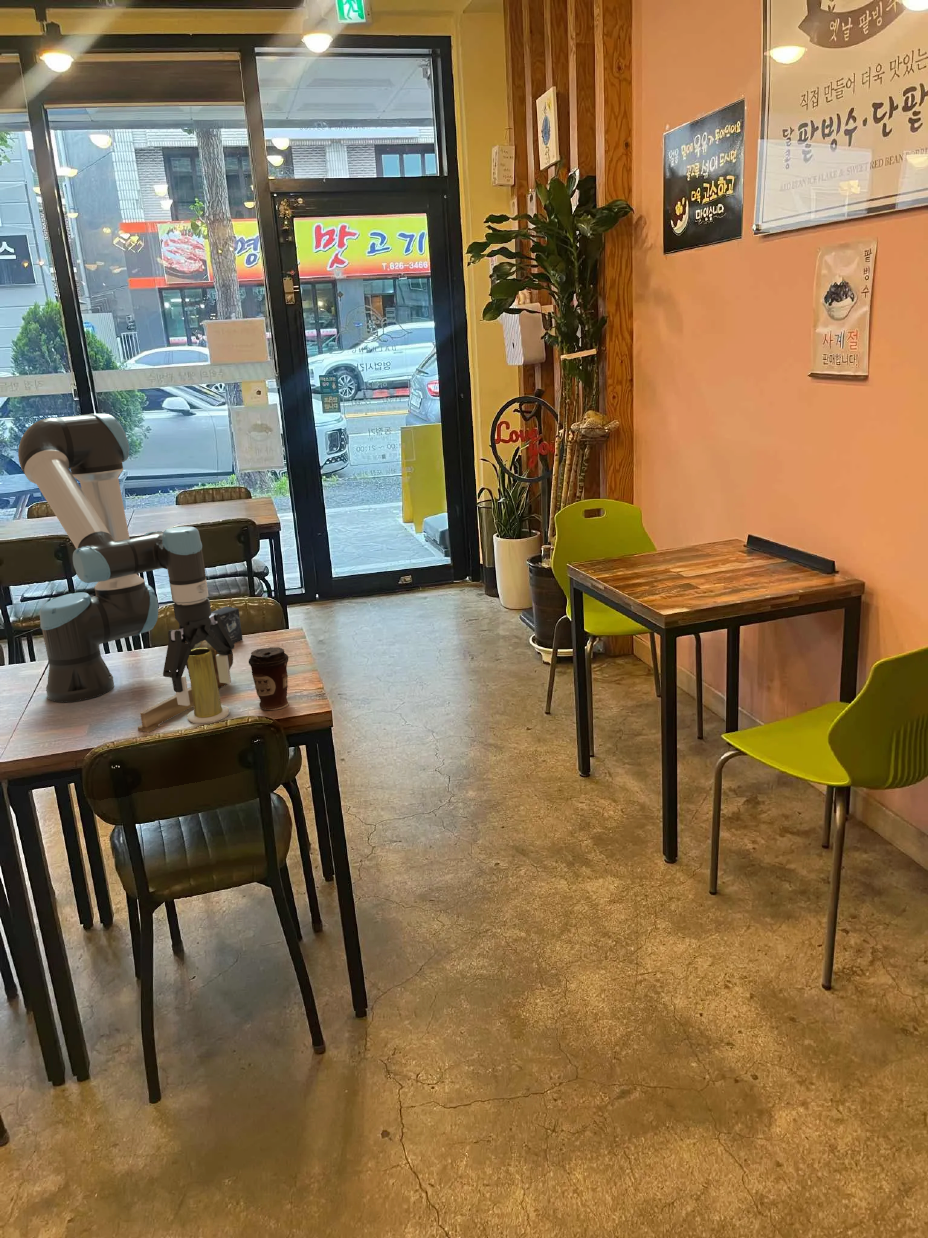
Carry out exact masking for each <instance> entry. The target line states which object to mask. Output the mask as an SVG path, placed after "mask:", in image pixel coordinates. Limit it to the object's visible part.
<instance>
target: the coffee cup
mask: <svg viewBox="0 0 928 1238" xmlns="http://www.w3.org/2000/svg"><path fill="white" fill-rule="evenodd" d="M289 659H290V658H289V655H288V654H287V653H285V649H284V648H282V647H278V646H277V647H272V646H271V647H266V648H257V649H255V650H253V651H251V653H250V657H249V658H248V664H249V666H250V668H251V676H252V679H253V683H254V687H255V690H256V691H255V692H256V695H257V696H258V698H259V704H258V705H259V708H260V709H262V710H266V711H267V710H268V711H276V710H281V709H284V708H287V707H288V705H289V700H288V698H287V697H288V688H289V685H288V684H289V683H288V682H289V680H288V669H287V666H288V662H289Z"/></svg>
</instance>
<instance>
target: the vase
mask: <svg viewBox="0 0 928 1238" xmlns="http://www.w3.org/2000/svg"><path fill="white" fill-rule="evenodd" d="M187 662H188V668H189V673H188V675H189V674H190V677H189V679H190V687H191V690H192V696H193V703H194V706H193V710H194V715H195V716H196V717H200V718H206V717H212V716H215V715H218V714H219V713H221V712H222V710H223V709H222V707H221V704H222V703H221V696H220V690H219V688H218V685H217V680H216V675H215V669H214V664H213V657H212V652H211V649H209V648H197V649H193V650H191V652H190V655H189V658H188V661H187Z"/></svg>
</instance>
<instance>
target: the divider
mask: <svg viewBox="0 0 928 1238" xmlns="http://www.w3.org/2000/svg"><path fill="white" fill-rule="evenodd" d="M187 688H188V694H189V701H190V705H189V706H184V705H178V702H177V696H176V694H175V695H173V696H170V697H169V698H166V699H165V700H162V701H161V702H159V703H157V704H155V705H153V706H151V707H148V708H147V709H145V710H143V711H141V712H139V714H140V719H141V725H140V726H137V731H138V732H144V733H150V732H152V731H154V730H156V729H157V728H160V725H161V724H162V723H165V722H167V721H168V720H170V719H172V718H174V717H176V716H179V714H182V713H183V712H184V711H187V710H189V709H191V708H192V707H194V703H193V696H192V690H191V686H190V687H187Z"/></svg>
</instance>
